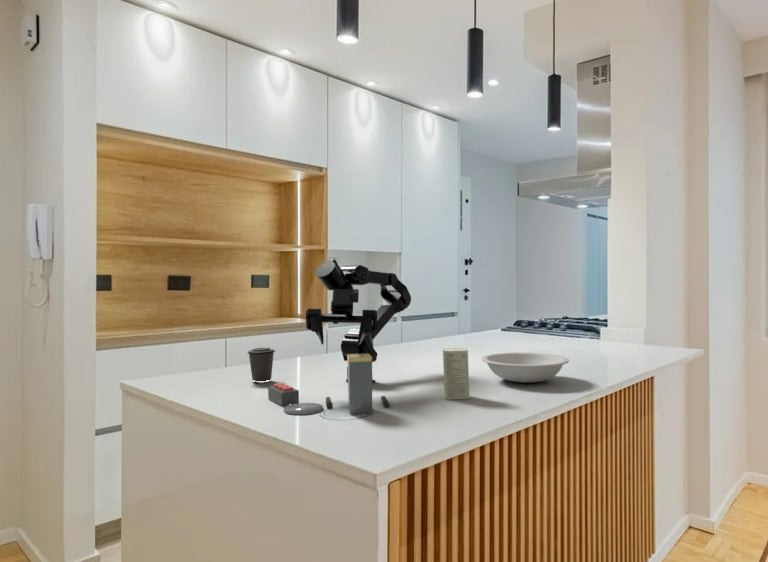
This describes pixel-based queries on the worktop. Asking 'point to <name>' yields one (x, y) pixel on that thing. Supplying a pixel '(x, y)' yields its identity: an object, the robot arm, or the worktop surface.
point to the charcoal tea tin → (360, 383)
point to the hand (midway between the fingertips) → (340, 343)
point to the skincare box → (456, 373)
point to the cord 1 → (328, 402)
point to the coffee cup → (261, 363)
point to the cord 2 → (385, 401)
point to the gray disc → (303, 408)
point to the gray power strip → (283, 394)
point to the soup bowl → (525, 366)
